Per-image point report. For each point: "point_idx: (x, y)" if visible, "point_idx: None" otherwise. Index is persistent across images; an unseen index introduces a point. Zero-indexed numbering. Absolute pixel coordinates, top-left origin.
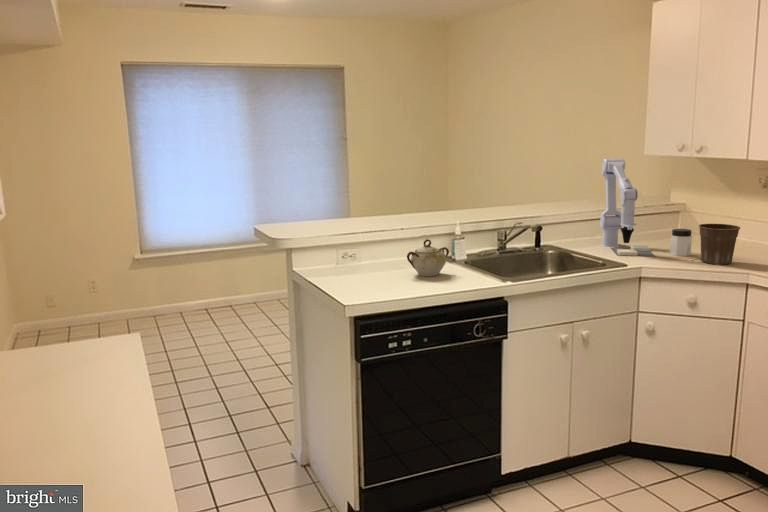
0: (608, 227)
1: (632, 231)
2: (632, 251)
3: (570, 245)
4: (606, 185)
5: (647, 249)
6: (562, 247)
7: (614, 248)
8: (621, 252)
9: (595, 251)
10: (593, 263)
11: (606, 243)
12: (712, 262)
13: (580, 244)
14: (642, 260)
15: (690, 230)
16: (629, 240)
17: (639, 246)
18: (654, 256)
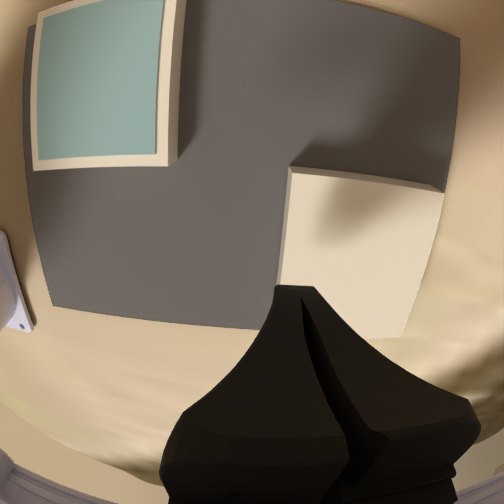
0: None
1: (444, 399)
2: (404, 231)
3: (50, 424)
4: None
5: (179, 10)
6: (109, 457)
7: (69, 285)
8: (404, 322)
9: (180, 400)
10: (481, 412)
11: (5, 323)
12: None
13: (9, 386)
14: None
15: None
16: (327, 302)
17: (81, 82)
18: (458, 52)
